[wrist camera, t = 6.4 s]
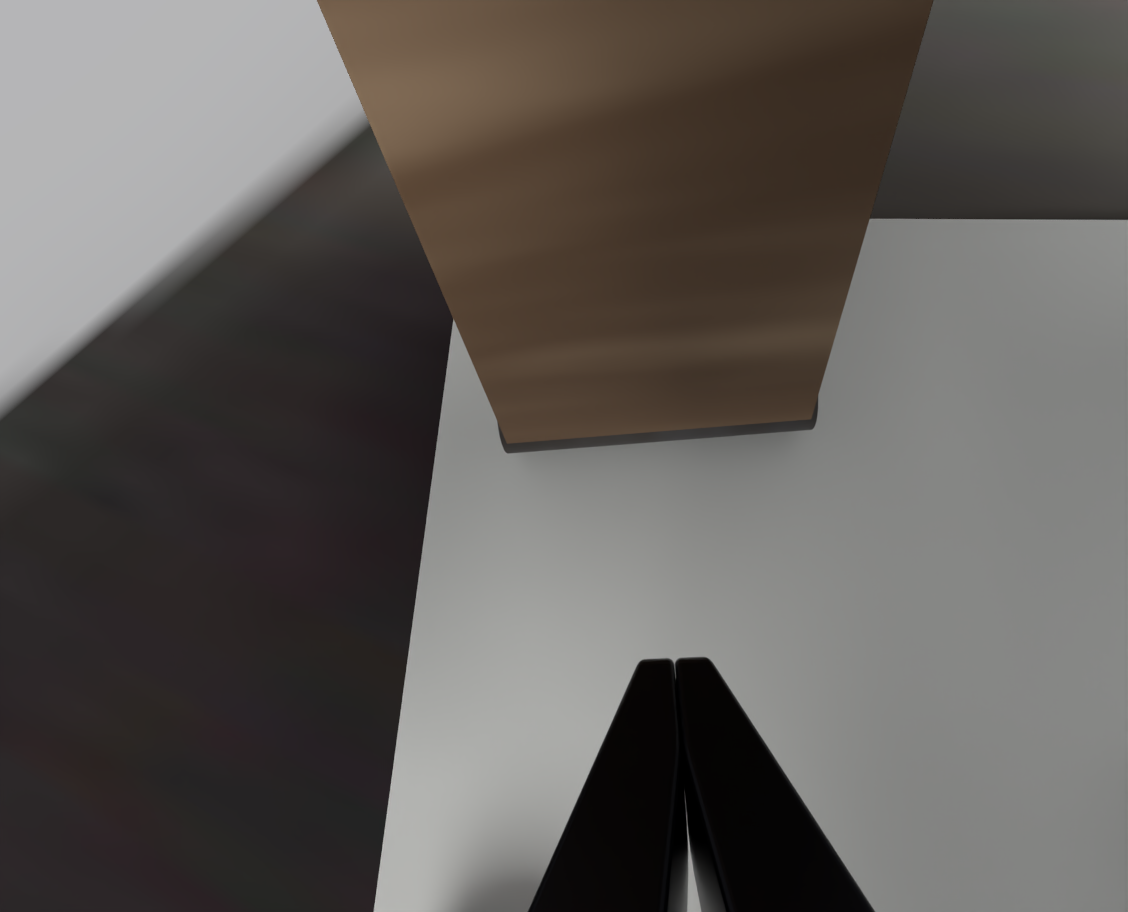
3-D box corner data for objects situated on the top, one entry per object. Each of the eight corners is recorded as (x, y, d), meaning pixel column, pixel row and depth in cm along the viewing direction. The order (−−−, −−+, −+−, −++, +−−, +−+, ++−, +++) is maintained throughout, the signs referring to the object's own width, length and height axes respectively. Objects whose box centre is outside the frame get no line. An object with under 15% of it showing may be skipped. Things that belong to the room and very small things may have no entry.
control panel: (1520, 1502, 11) (1710, 1702, 9) (358, 1210, 14) (307, 1311, 12) (1331, 257, 16) (1431, 204, 14) (482, 247, 19) (460, 203, 17)
